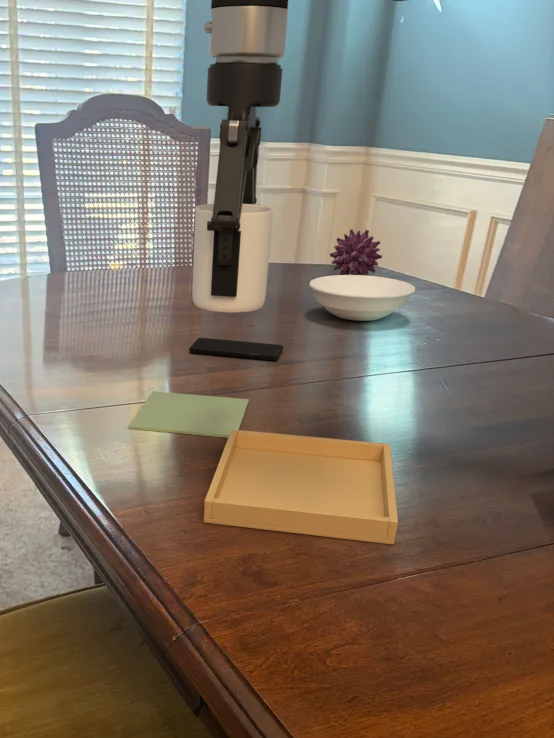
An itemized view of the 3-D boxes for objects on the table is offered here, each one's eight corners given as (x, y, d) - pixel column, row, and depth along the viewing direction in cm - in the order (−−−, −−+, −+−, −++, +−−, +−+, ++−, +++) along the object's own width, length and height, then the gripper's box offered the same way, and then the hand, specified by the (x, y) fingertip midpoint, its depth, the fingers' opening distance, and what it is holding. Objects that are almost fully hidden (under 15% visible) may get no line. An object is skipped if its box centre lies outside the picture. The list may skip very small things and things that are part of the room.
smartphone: (277, 356, 125) (188, 348, 129) (277, 361, 125) (187, 353, 129) (284, 344, 130) (198, 337, 134) (283, 349, 131) (198, 341, 135)
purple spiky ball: (354, 294, 177) (313, 275, 183) (383, 284, 183) (343, 266, 189) (369, 243, 169) (326, 225, 175) (399, 235, 176) (357, 218, 182)
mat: (248, 401, 109) (249, 399, 109) (235, 438, 97) (236, 435, 97) (152, 393, 111) (152, 391, 111) (128, 428, 100) (128, 425, 99)
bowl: (346, 336, 139) (351, 300, 136) (286, 311, 155) (289, 279, 152) (431, 325, 146) (438, 290, 143) (366, 303, 162) (370, 271, 159)
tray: (386, 463, 91) (390, 443, 89) (393, 544, 74) (398, 522, 73) (230, 448, 94) (231, 429, 93) (203, 522, 78) (204, 500, 76)
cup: (186, 310, 85) (189, 211, 80) (202, 287, 95) (206, 198, 90) (261, 315, 83) (270, 214, 78) (270, 291, 93) (278, 200, 88)
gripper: (224, 65, 88) (214, 262, 99) (187, 56, 68) (179, 305, 78) (290, 66, 87) (272, 265, 98) (273, 56, 66) (253, 310, 77)
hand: (231, 283), depth 88 cm, fingers closed on cup, 12 cm apart
